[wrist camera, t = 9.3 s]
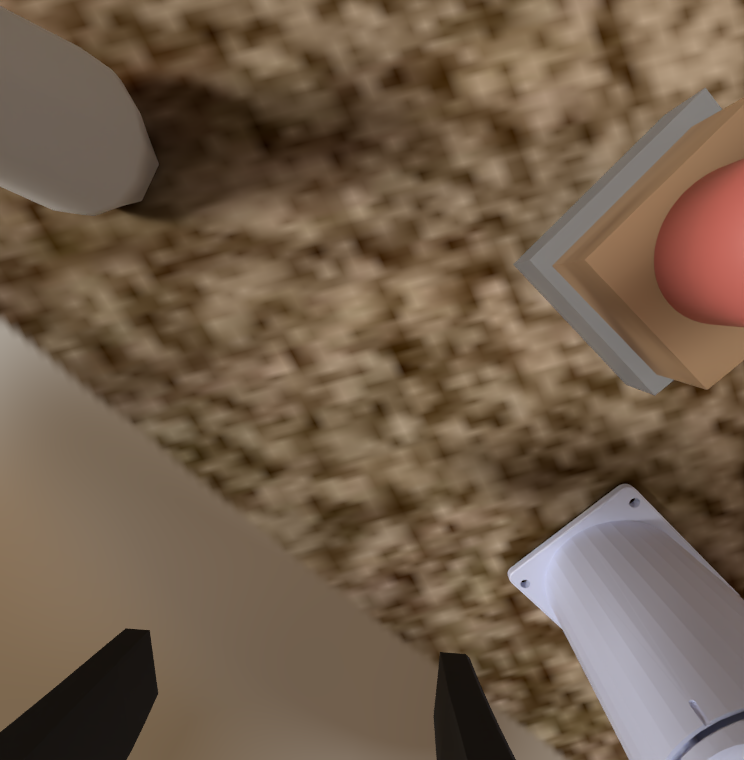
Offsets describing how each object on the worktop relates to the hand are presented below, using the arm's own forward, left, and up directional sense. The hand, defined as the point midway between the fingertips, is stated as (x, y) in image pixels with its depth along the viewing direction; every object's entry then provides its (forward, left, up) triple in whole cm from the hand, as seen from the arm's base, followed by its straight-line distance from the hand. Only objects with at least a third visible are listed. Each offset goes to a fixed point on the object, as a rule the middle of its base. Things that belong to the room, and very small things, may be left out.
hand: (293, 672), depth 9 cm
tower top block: (-2, -17, -9) cm, 19 cm away
